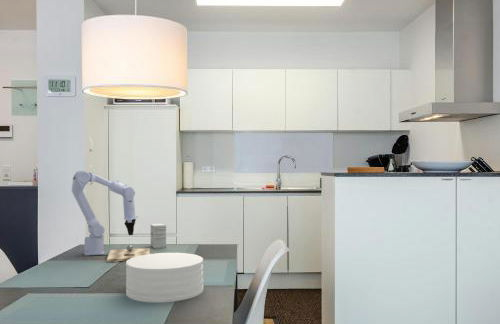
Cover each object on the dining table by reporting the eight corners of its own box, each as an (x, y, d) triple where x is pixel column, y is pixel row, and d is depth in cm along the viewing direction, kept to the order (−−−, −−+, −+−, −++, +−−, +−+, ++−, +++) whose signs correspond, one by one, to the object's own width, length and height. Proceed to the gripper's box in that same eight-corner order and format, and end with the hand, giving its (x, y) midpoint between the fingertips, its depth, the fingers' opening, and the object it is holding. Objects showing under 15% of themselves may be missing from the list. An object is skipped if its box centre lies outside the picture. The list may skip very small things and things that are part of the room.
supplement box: (150, 246, 257) (150, 224, 257) (163, 245, 260) (163, 223, 260) (153, 248, 250) (153, 225, 250) (166, 247, 253) (166, 224, 253)
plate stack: (169, 277, 187) (169, 249, 187) (218, 289, 169) (218, 258, 169) (110, 292, 165) (110, 261, 165) (159, 308, 147) (159, 273, 147)
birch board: (106, 262, 215) (106, 259, 215) (110, 252, 238) (110, 249, 238) (149, 260, 220) (149, 257, 220) (149, 250, 243) (149, 248, 243)
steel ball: (126, 251, 233) (126, 245, 233) (126, 250, 236) (126, 244, 236) (132, 251, 234) (132, 245, 234) (132, 250, 237) (132, 244, 237)
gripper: (136, 209, 239) (138, 235, 239) (137, 206, 253) (138, 230, 253) (122, 211, 237) (124, 236, 238) (124, 207, 251) (125, 232, 252)
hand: (131, 233), depth 246 cm, fingers open, 7 cm apart
